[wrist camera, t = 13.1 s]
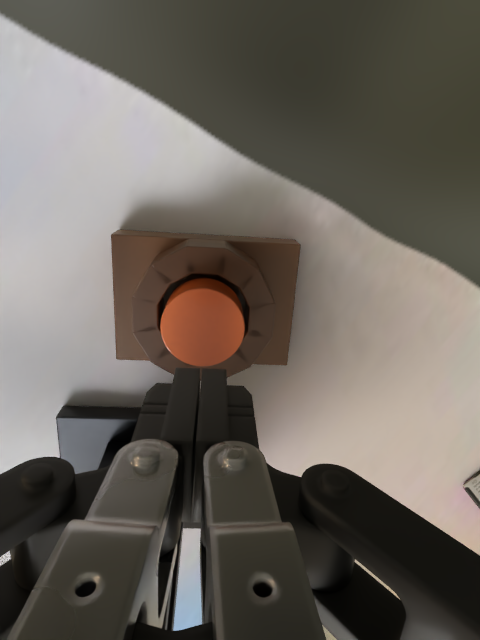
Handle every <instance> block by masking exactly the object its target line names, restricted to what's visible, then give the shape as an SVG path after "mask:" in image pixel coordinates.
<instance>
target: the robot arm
mask: <svg viewBox="0 0 480 640" xmlns="http://www.w3.org/2000/svg"><path fill="white" fill-rule="evenodd" d="M199 399H200V400H199ZM194 476H195V488H194ZM193 488H194V522H201V538H200V572H201V602H202V625H198V626H194V627H191V628H187V629H184V630H179V631H170V630H165V629H162V625H163V620H164V615H165V610H166V605H167V600H168V595H169V590H170V585H171V580H172V575H173V570H174V565H175V560H176V555H177V542H178V540H179V537H180V530H181V522H191V512H192V500H193ZM9 550H10V554H11V559H10V560H9V561H8V562H6V563H5V564H3V565H2V566H0V640H326V637H325V634H324V631H323V627H322V625H323V626H324V627H325V628H326V629H327V630H328V631H329V632H330V633H331V634H332V635H333V636H334V637H335V638H336V639H337V640H480V555H478V554H477V553H475V552H473V551H472V550H470V549H469V548H467V547H466V546H464V545H463V544H461V543H460V542H458V541H457V540H455V539H454V538H452V537H451V536H449V535H448V534H446V533H445V532H443V531H442V530H440V529H439V528H437V527H436V526H434V525H433V524H431V523H430V522H428V521H427V520H425V519H424V518H422V517H421V516H419V515H418V514H416V513H415V512H413V511H411V510H410V509H408V508H407V507H405V506H404V505H402V504H401V503H399V502H398V501H396V500H395V499H393V498H392V497H390V496H389V495H387V494H386V493H384V492H383V491H381V490H380V489H378V488H377V487H375V486H374V485H372V484H371V483H369V482H368V481H366V480H365V479H363V478H362V477H360V476H359V475H357V474H356V473H354V472H352V471H351V470H349V469H347V468H344V467H342V466H338V465H334V464H318V465H314V466H312V467H310V468H308V469H307V470H306V471H305V472H304V473H303V475H302V477H298V476H294V475H290V474H287V473H283V472H281V471H279V470H276V469H275V468H273V467H271V466H270V465H269V464H267V463H266V461H265V458H264V455H263V454H262V452H261V451H260V450H259V445H258V438H257V430H256V423H255V417H254V408H253V401H252V395H251V394H250V393H249V392H248V391H247V389H246V388H245V387H244V386H229V385H227V372H226V369H209V368H202V378H201V389H200V368H178V367H176V369H175V373H174V378H173V383H172V384H165V383H157V384H155V385H154V386H153V387H152V388H151V389H150V390H149V391H147V393H146V396H145V399H144V402H143V405H142V408H141V411H140V414H139V417H138V420H137V424H136V427H135V430H134V433H133V436H132V439H131V442H130V443H129V444H127V445H125V446H124V447H122V448H121V449H120V450H119V451H118V452H117V454H116V455H115V457H114V459H113V461H112V463H111V465H109V466H107V467H104V468H101V469H97V470H93V471H88V472H83V473H78V474H75V471H74V467H73V466H72V464H71V463H69V462H68V461H66V460H64V459H61V458H57V457H42V458H36V459H32V460H29V461H26V462H24V463H22V464H20V465H18V466H16V467H14V468H12V469H10V470H8V471H6V472H4V473H2V474H0V557H1V556H2V555H4V554H5V553H6V552H8V551H9ZM355 559H356V560H357V561H359V562H360V563H361V564H362V565H363V566H365V567H366V568H367V569H368V570H369V571H371V572H372V573H373V574H374V575H375V576H377V577H378V578H379V579H380V580H381V581H383V582H384V583H385V584H386V585H387V586H389V587H390V588H391V589H392V590H393V591H394V592H395V593H396V594H397V595H398V597H399V598H400V600H399V599H398V598H397V597H396V596H395V595H393V594H392V593H391V592H390V591H389V590H387V589H386V588H385V587H384V586H383V585H382V584H380V583H379V582H378V581H377V580H376V579H374V578H373V577H372V576H371V575H370V574H368V573H367V572H366V571H365V570H364V569H362V568H361V567H360V566H359V565H358V564H356V563H355V562H354V561H355Z"/></svg>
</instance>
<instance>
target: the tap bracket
mask: <svg viewBox="0 0 480 640" xmlns="http://www.w3.org/2000/svg"><path fill="white" fill-rule="evenodd" d="M140 411H141V408H126V407H88V406H63V407H62V409H61V410H60V412H59V413H58V415H57V417H56V420H57V430H58V440H59V450H60V458H61V459H64V460H66V461H68V462H69V463H71V464H72V466H73V467H74V471H75V474H78V473H83V472H88V471H93V470H97V469H101V468H104V467H107V466H109V465H111V463H112V461H113V459H114V457H115V455H116V454H117V452H118V451H119V450H120V449H121V448H122V447H124V446H125V445H127V444H129V443H130V442H131V439H132V436H133V433H134V430H135V427H136V424H137V420H138V417H139V414H140ZM194 488H195V476H194ZM194 488H193V500H192V512H191V522H181V530H180V537H179V540H178V542H177V555H176V560H175V565H174V570H173V575H172V580H171V585H170V590H169V595H168V600H167V605H166V610H165V615H164V620H163V625H162V629H165V630H170V631H173V626H174V615H175V605H176V595H177V584H178V574H179V563H180V553H181V542H182V532H183V528H201V522H194Z"/></svg>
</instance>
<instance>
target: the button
mask: <svg viewBox="0 0 480 640" xmlns="http://www.w3.org/2000/svg"><path fill="white" fill-rule="evenodd" d="M160 329H161V336H162V339H163V342H164V344H165V345H166V347H167V348H168V350H169V351H170V352H171V353H172V354H173V355H174V356H175V357H176V358H178V359H179V360H181V361H183V362H185V363H187V364H190V365H195V366H212V365H216V364H219V363H221V362H223V361H225V360H227V359H228V358H229V357H231V356H232V355H233V354H234V353H235V352H236V351H237V349H238V348H239V346H240V345H241V342H242V340H243V337H244V332H245V323H244V317H243V311H242V306H241V303H240V301H239V298H238V297H237V295H236V294H235V292H234V291H233V290H232V289H231V288H230V287H228V286H227V285H226V284H224V283H222V282H220V281H218V280H215V279H211V278H196V279H192V280H189V281H187V282H184V283H183V284H181V285H180V286H178V287H177V288H176V289H175V290H174V291H173V292H172V294H171V295H170V297H169V299H168V301H167V303H166V306H165V309H164V312H163V314H162V318H161V324H160Z"/></svg>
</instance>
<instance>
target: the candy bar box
mask: <svg viewBox="0 0 480 640" xmlns="http://www.w3.org/2000/svg"><path fill="white" fill-rule="evenodd" d="M463 488H464V489H465V491H466V492H467V493H468V494H469V496H470V497H471V498H472V499H473V501H474V502H475V503H476V505H477V506H478V507H479V508H480V472H478V473H477V474H476V475H474V476H473V477H472V478H471V479H470V480H469V481H467V482H466V483H465V484H464V485H463Z"/></svg>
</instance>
